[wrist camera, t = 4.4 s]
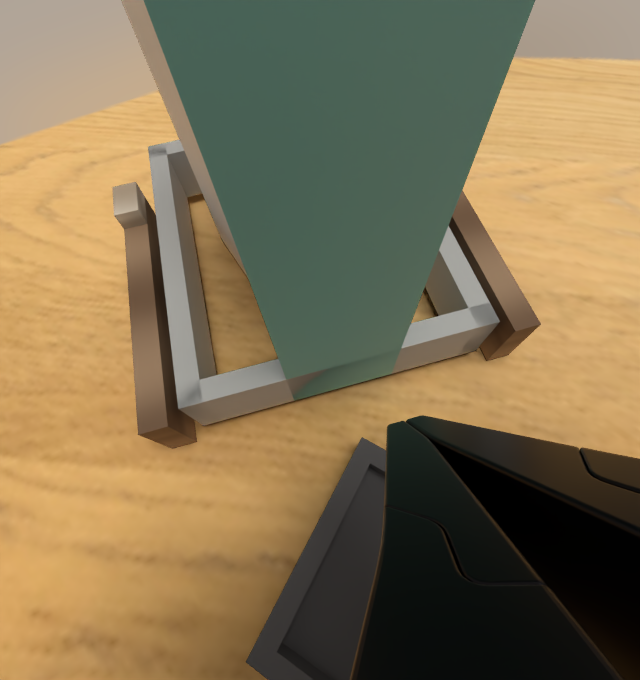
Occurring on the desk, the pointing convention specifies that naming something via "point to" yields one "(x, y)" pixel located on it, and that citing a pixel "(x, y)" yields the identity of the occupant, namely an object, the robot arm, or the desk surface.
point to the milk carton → (178, 115)
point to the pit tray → (329, 581)
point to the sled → (328, 182)
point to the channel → (153, 329)
